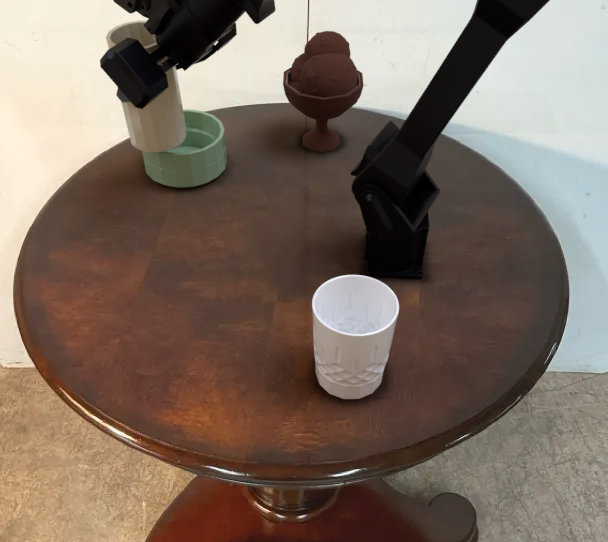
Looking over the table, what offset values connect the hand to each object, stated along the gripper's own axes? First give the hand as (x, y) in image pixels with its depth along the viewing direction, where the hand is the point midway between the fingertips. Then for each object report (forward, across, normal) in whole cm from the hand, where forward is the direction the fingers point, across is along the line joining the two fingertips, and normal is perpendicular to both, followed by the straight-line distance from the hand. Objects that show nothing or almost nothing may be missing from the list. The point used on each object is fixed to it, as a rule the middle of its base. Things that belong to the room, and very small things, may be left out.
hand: (139, 84), depth 82 cm
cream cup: (+4, 0, +6) cm, 7 cm away
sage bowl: (+8, -4, +11) cm, 14 cm away
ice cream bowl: (-1, -19, +21) cm, 28 cm away
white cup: (-16, +19, +36) cm, 44 cm away
